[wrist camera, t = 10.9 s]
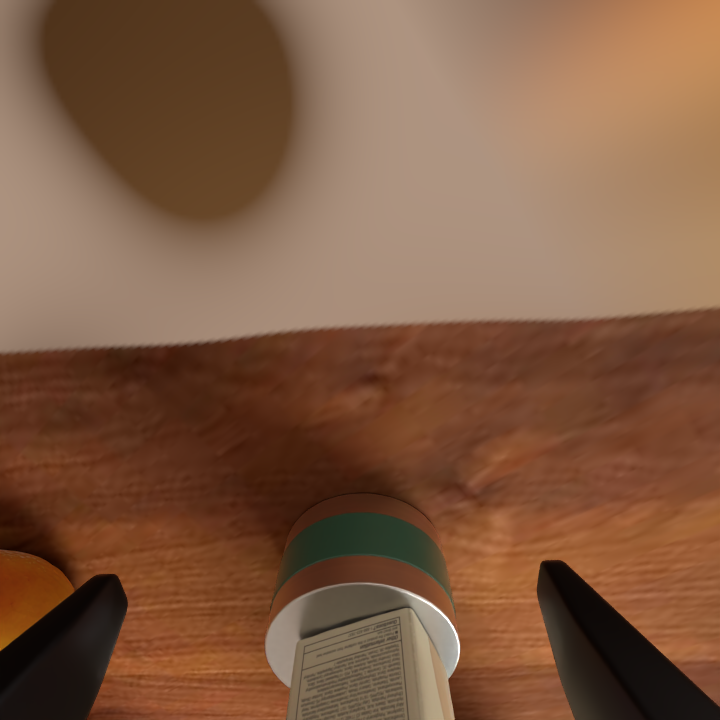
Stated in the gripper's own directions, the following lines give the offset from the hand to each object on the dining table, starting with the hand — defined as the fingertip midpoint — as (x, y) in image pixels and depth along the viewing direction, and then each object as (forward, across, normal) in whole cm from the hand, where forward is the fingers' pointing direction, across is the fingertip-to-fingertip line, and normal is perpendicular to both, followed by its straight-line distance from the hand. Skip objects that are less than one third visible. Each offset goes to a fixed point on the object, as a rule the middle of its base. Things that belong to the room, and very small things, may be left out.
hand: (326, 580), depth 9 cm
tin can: (+10, 0, +10) cm, 14 cm away
